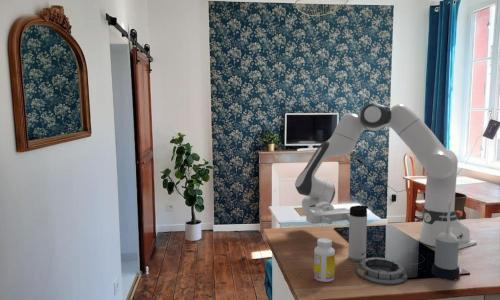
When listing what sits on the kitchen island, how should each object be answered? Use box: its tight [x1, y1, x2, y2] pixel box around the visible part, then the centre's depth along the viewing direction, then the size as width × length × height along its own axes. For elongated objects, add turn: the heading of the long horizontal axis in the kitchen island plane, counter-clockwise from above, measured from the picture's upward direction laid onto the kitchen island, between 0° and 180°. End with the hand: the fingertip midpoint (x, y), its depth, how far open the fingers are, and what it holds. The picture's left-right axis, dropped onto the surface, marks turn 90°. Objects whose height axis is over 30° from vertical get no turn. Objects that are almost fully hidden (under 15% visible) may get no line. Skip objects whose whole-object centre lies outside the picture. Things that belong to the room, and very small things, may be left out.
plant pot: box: [454, 191, 468, 222], centre depth 175 cm, size 15×15×16 cm
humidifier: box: [431, 201, 462, 281], centre depth 123 cm, size 8×8×25 cm
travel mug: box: [348, 205, 369, 263], centre depth 137 cm, size 6×7×20 cm
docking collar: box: [356, 256, 408, 286], centre depth 125 cm, size 16×16×3 cm
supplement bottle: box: [313, 237, 336, 283], centre depth 121 cm, size 7×7×13 cm
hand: (341, 220), depth 148 cm, fingers open, 8 cm apart
